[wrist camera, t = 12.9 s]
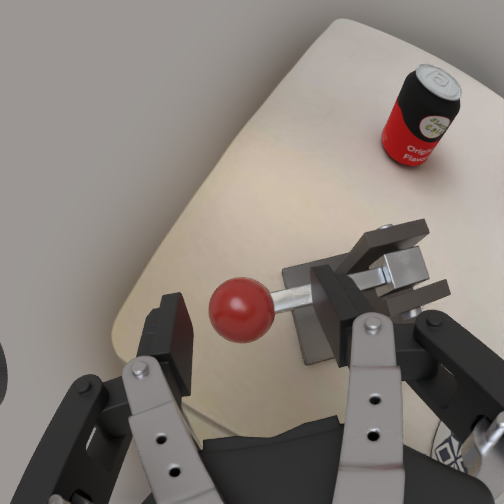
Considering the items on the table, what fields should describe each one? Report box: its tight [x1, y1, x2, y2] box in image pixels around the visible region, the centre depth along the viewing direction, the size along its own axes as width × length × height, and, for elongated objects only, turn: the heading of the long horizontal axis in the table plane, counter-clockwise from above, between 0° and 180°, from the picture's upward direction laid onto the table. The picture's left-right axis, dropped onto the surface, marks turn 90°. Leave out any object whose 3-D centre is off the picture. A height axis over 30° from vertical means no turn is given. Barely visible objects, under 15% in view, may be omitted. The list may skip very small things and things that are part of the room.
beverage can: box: [382, 64, 462, 166], centre depth 28 cm, size 6×6×12 cm
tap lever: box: [209, 246, 429, 343], centre depth 18 cm, size 13×4×4 cm, turn 103°
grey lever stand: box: [282, 219, 451, 365], centre depth 23 cm, size 12×9×13 cm
